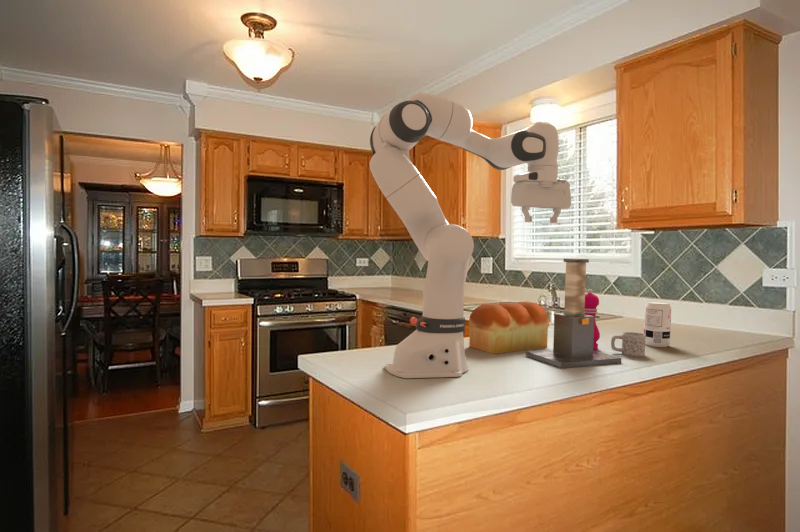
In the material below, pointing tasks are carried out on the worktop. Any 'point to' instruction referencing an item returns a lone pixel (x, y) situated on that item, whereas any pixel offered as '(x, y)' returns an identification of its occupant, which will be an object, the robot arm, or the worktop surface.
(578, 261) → the column
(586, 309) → the pink tall rounded piece
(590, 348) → the stand
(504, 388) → the worktop surface
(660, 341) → the supplement can
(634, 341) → the mug
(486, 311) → the bread
